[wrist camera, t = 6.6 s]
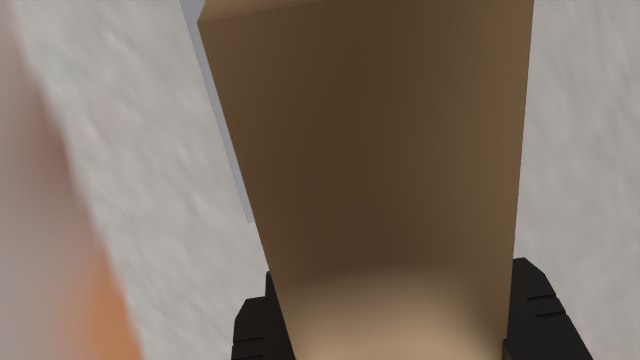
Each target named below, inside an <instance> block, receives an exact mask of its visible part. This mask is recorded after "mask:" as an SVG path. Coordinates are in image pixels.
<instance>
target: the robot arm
mask: <svg viewBox="0 0 640 360" xmlns="http://www.w3.org/2000/svg"><path fill="white" fill-rule="evenodd" d="M231 360H296V358H295V355H294V352H293V348H292V345H291V341H290V338H289V335H288V331H287V328H286V324H285V321H284V318H283V314H282V311H281V308H280V304H279V301H278V297H277V294H276V291H275V287H274V284H273V280H272V277H271V274H270V271H267V273H266V290H265V296H263V297H257V298H250V299H246V300H245V302H244V304H243V306H242V308H241V309H240V311H239V313H238V315H237V317H236V318H235V324H234V335H233V346H232V355H231ZM502 360H593V358H592V356H591V355H590V353H589V351H588V349H587V348H586V346H585V344H584V342H583V341H582V339H581V337H580V335H579V334H578V332H577V330H576V328H575V327H574V325H573V323H572V321H571V320H570V318H569V316H568V315H566V311H565V309H564V307H563V306H562V304H561V302H560V300H559V299H558V298H557V297H556V293H555V292H554V290H553V288H552V286H551V284H550V283H549V281H548V279H547V277H546V276H545V274H544V273H543V272H542V271H541V270H539V269H538V268H537V267H536V266H534V265H533V264H532V263H531V262H529V261H528V260H527V259H526V258H524V257H523V258H516V259H513V264H512V277H511V289H510V301H509V314H508V326H507V338H506V339H503V346H502Z"/></svg>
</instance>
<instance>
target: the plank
mask: <svg viewBox="0 0 640 360" xmlns="http://www.w3.org/2000/svg"><path fill="white" fill-rule="evenodd" d="M533 6H534V0H206V1H205V4H204V6H203V9H202V11H201V13H200V16H199V18H198V20H197V26H198V29H199V33H200V36H201V40H202V43H203V46H204V50H205V53H206V57H207V60H208V63H209V67H210V70H211V74H212V77H213V80H214V84H215V87H216V90H217V94H218V97H219V101H220V104H221V107H222V111H223V114H224V118H225V121H226V124H227V128H228V131H229V135H230V138H231V141H232V145H233V148H234V152H235V155H236V158H237V162H238V165H239V168H240V172H241V175H242V179H243V182H244V185H245V189H246V192H247V196H248V199H249V202H250V206H251V209H252V213H253V216H254V219H255V223H256V226H257V230H258V233H259V236H260V240H261V243H262V246H263V250H264V253H265V257H266V260H267V263H268V267H269V270H270V274H271V277H272V280H273V284H274V287H275V291H276V294H277V297H278V301H279V304H280V308H281V311H282V314H283V318H284V321H285V324H286V328H287V331H288V335H289V338H290V341H291V345H292V348H293V352H294V355H295V358H296V360H502V346H503V339H506V338H507V326H508V314H509V301H510V289H511V277H512V264H513V252H514V240H515V227H516V215H517V203H518V191H519V178H520V166H521V154H522V141H523V129H524V117H525V105H526V92H527V80H528V68H529V55H530V43H531V31H532V18H533Z"/></svg>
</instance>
